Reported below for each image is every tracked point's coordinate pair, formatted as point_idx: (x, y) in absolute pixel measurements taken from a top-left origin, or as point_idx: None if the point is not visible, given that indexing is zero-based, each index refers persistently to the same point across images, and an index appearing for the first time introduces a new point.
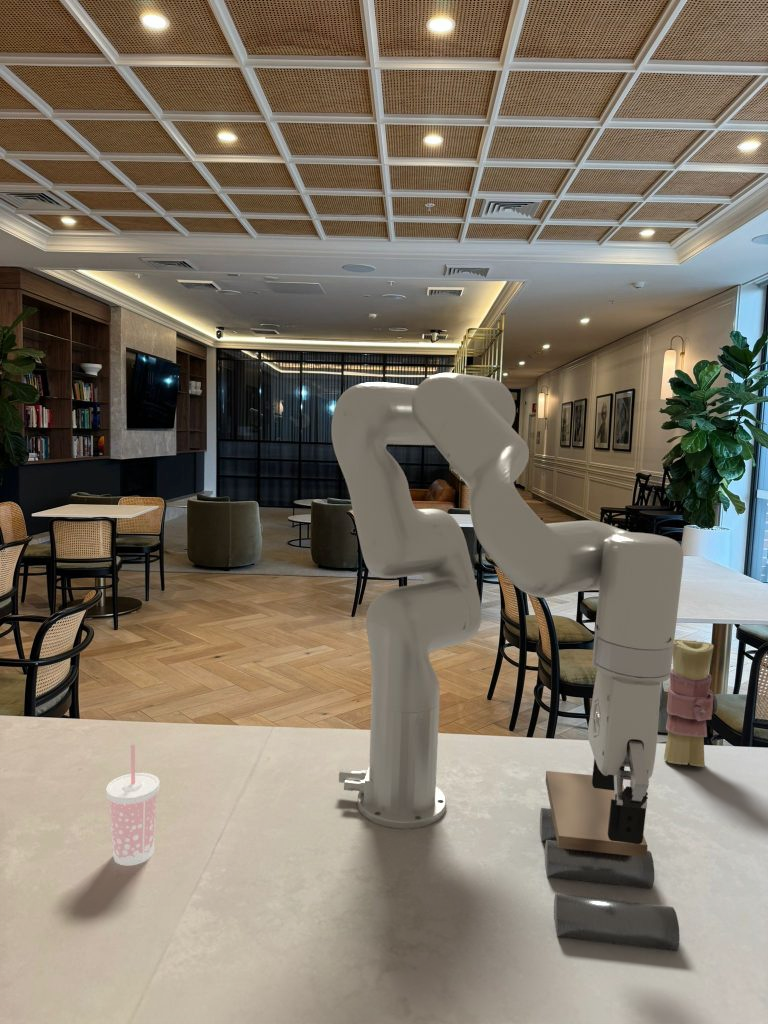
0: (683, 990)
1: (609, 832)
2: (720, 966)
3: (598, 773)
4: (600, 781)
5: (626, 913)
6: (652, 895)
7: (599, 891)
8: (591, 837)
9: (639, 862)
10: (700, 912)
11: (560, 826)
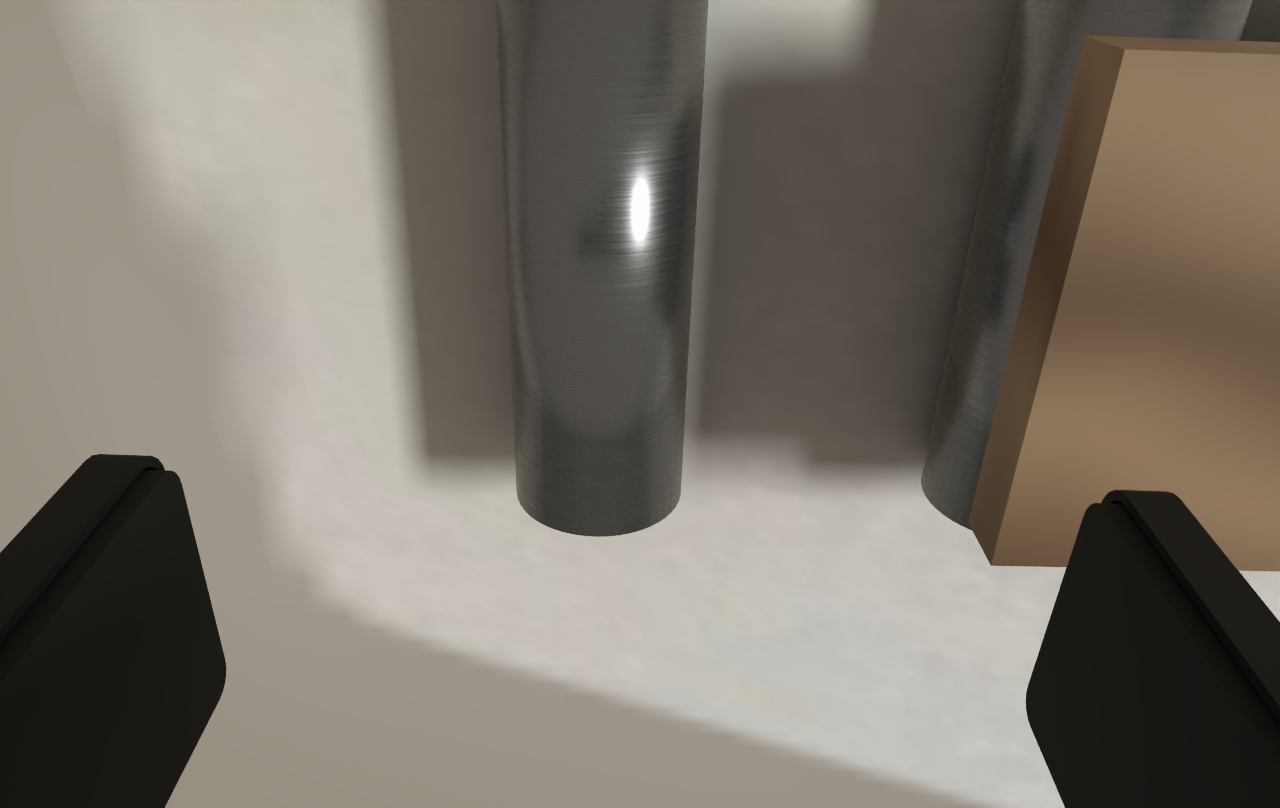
0: (360, 423)
1: (56, 492)
2: (516, 569)
3: (1165, 645)
4: (1105, 600)
5: (552, 325)
6: (900, 451)
7: (925, 229)
8: (1085, 279)
9: None
10: (802, 589)
11: (1245, 81)
